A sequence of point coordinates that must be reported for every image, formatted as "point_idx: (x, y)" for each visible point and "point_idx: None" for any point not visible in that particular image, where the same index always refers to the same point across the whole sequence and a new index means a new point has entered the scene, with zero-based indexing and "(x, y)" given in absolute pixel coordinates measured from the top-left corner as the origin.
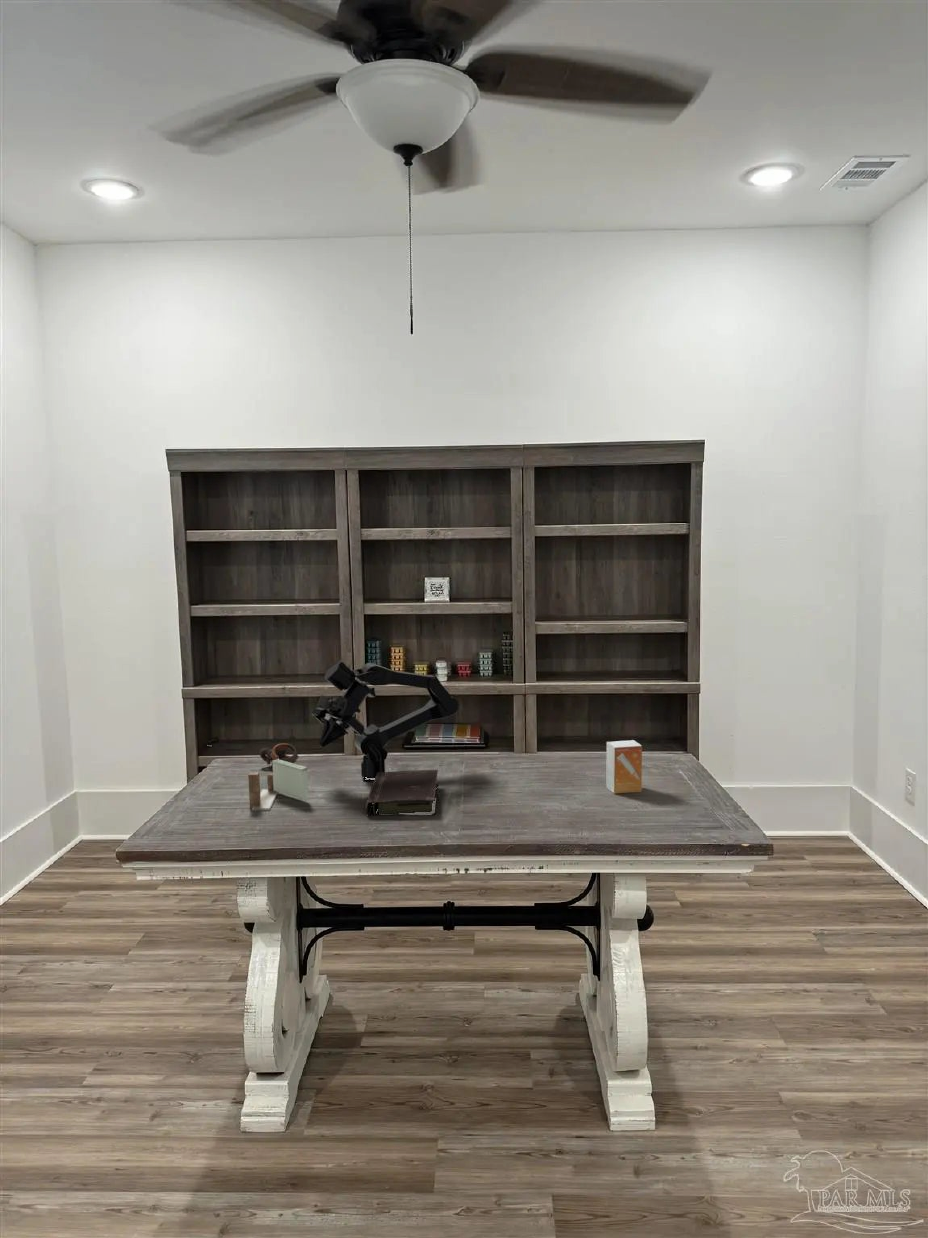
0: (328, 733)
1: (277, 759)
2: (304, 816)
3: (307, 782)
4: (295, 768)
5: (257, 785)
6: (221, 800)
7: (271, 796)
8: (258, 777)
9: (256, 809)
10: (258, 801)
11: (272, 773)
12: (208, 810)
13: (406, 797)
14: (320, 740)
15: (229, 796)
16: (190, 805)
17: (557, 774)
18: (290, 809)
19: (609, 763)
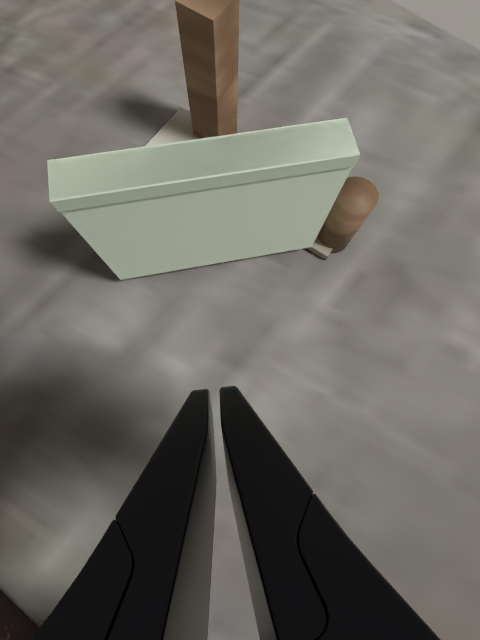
0: (106, 548)
1: (354, 149)
2: (2, 208)
3: (92, 246)
4: (112, 155)
5: (184, 57)
6: (345, 91)
7: None
8: (193, 32)
9: (172, 120)
10: (192, 120)
11: (369, 203)
12: (276, 38)
13: None
14: (245, 414)
15: (371, 120)
16: (353, 21)
17: None
18: None
19: None
